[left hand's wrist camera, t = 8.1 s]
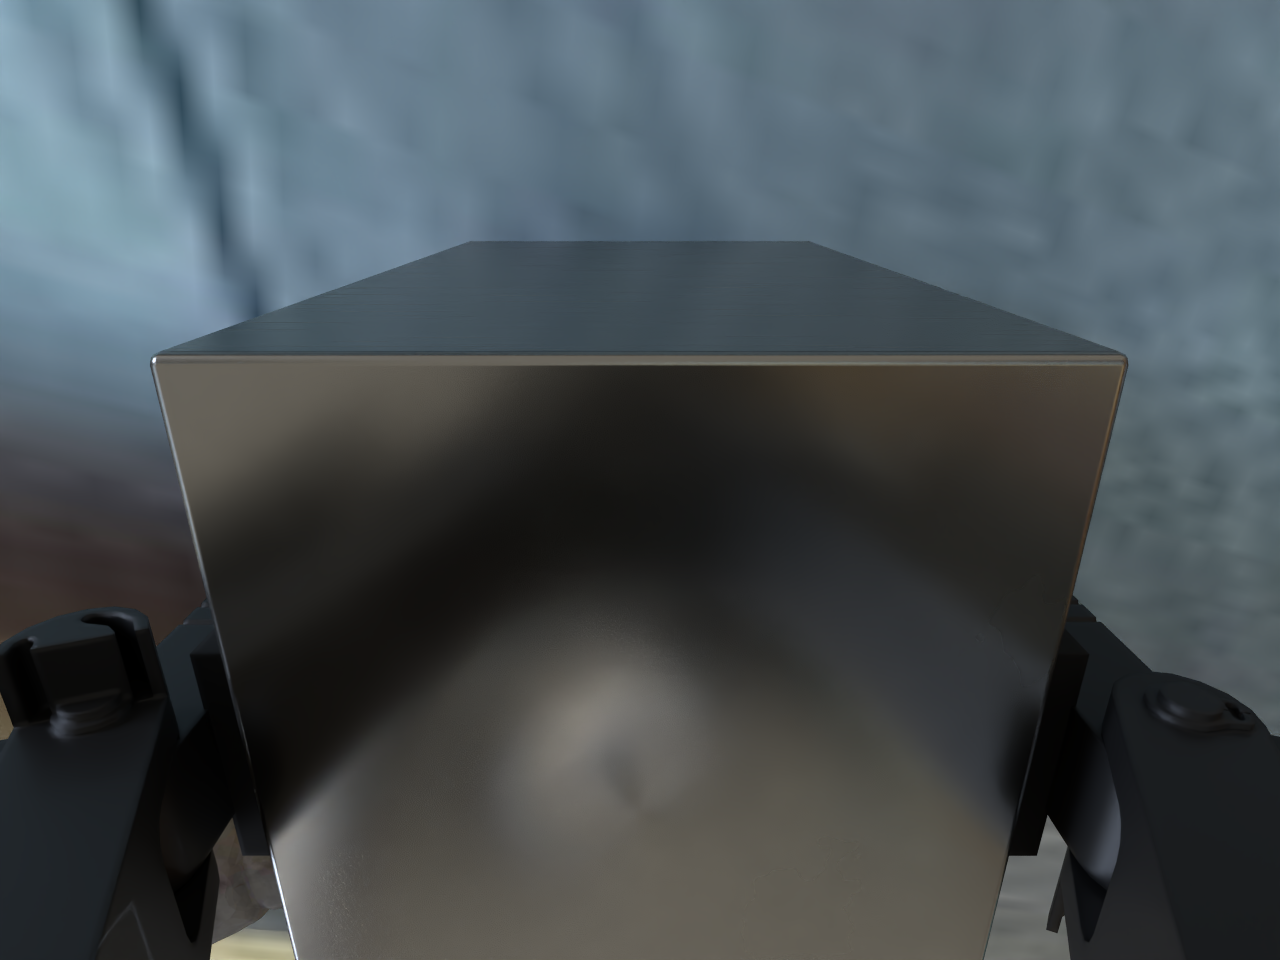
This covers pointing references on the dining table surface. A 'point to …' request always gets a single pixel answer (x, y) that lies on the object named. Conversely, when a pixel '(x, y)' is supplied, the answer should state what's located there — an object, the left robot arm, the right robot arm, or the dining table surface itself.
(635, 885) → the block
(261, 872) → the decorative stone
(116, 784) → the left robot arm
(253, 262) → the dining table surface
